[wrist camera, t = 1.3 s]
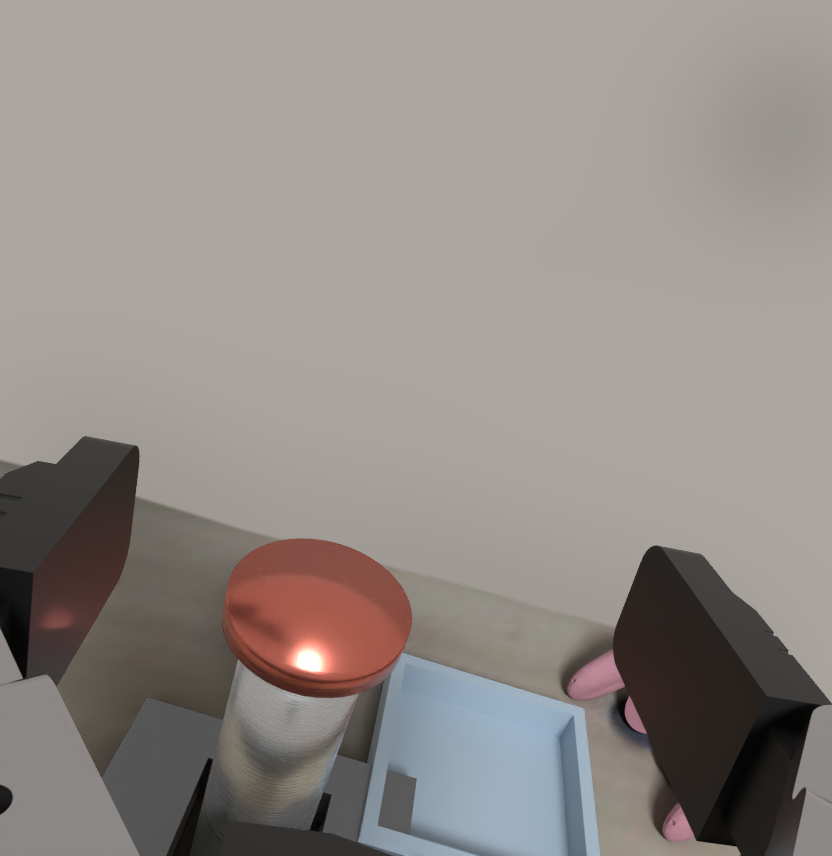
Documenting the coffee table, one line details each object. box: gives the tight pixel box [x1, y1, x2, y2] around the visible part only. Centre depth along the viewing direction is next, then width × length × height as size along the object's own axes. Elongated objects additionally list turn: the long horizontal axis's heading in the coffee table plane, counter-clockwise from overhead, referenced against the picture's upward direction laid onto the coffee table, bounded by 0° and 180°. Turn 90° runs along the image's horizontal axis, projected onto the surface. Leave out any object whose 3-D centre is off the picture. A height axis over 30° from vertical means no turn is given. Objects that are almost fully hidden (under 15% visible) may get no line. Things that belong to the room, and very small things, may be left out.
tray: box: [358, 653, 600, 856], centre depth 34 cm, size 10×10×2 cm
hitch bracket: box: [102, 697, 417, 856], centre depth 28 cm, size 12×9×2 cm
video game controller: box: [567, 649, 695, 842], centre depth 39 cm, size 10×5×7 cm, turn 24°
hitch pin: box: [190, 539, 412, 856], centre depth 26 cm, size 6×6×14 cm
